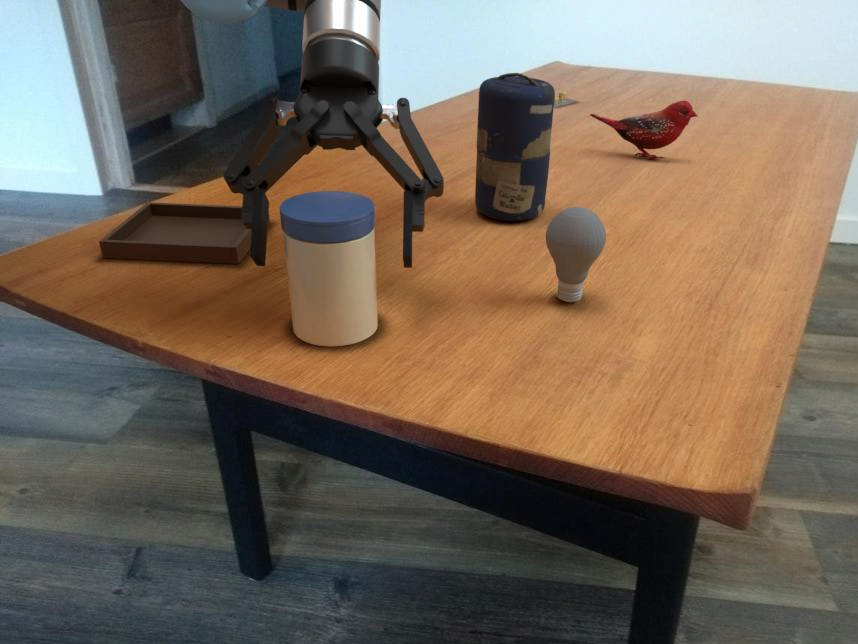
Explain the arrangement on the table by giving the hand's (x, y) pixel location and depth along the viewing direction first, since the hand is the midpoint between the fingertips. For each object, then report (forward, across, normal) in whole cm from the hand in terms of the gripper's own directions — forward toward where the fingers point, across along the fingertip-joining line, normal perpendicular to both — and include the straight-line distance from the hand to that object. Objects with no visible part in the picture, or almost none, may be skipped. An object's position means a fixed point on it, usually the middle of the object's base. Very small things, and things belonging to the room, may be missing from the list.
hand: (333, 262), depth 69 cm
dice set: (-70, -35, -80) cm, 111 cm away
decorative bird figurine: (-39, -44, -49) cm, 76 cm away
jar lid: (-3, 0, +4) cm, 5 cm away
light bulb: (0, -23, -9) cm, 25 cm away
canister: (-18, -19, -28) cm, 38 cm away
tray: (-10, +20, -20) cm, 30 cm away
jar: (+5, 0, -4) cm, 7 cm away
